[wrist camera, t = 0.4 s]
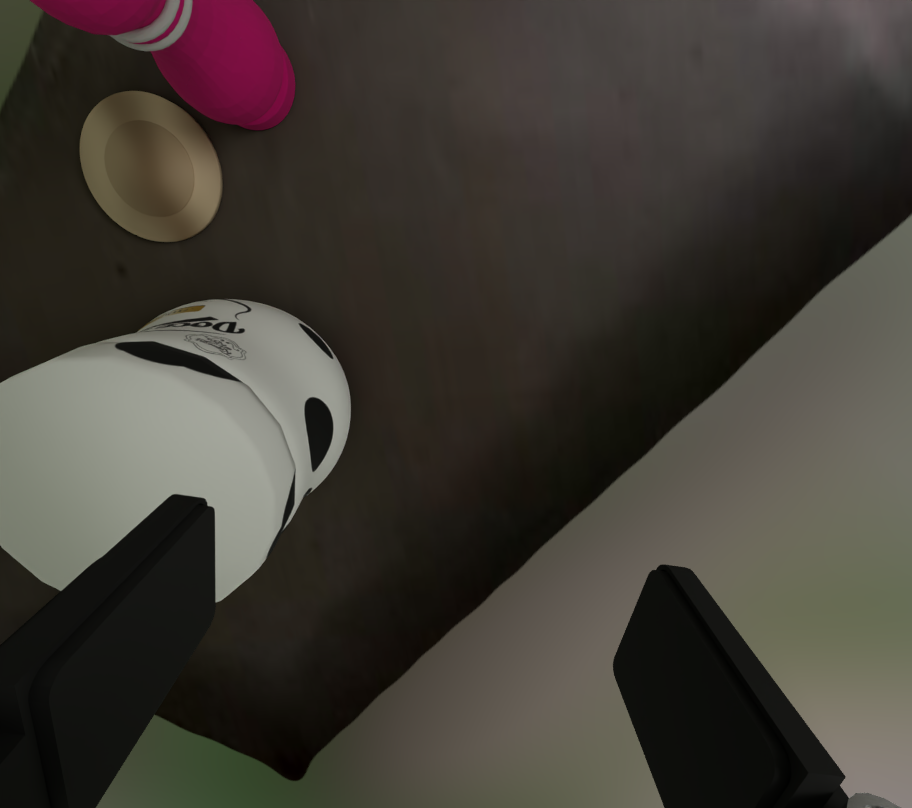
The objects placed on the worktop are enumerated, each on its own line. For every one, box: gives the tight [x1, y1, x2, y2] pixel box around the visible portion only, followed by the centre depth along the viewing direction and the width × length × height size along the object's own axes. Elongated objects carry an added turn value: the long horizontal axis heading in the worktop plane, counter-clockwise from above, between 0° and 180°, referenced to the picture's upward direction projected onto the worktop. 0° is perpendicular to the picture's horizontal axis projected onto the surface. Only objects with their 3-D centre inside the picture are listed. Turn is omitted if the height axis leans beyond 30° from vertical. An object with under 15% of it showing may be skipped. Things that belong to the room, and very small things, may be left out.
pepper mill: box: [30, 0, 295, 130], centre depth 22 cm, size 7×7×20 cm
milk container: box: [0, 299, 351, 602], centre depth 31 cm, size 17×17×18 cm
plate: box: [80, 91, 223, 242], centre depth 33 cm, size 10×10×1 cm
